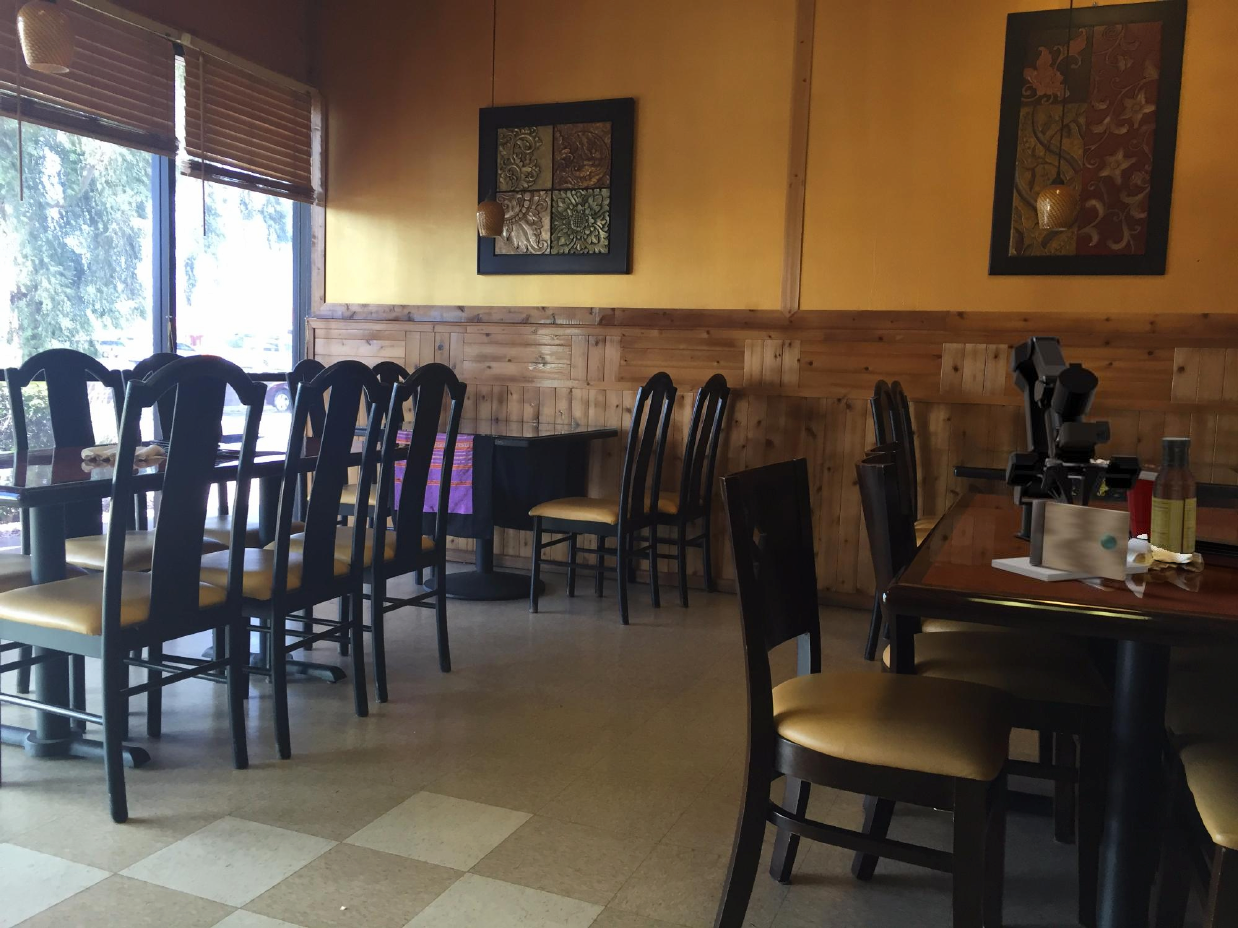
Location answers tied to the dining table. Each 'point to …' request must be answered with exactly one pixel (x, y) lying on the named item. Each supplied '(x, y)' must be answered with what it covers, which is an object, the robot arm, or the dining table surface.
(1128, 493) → the plastic cup
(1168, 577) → the dining table surface
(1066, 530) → the door
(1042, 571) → the board
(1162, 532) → the sauce bottle
